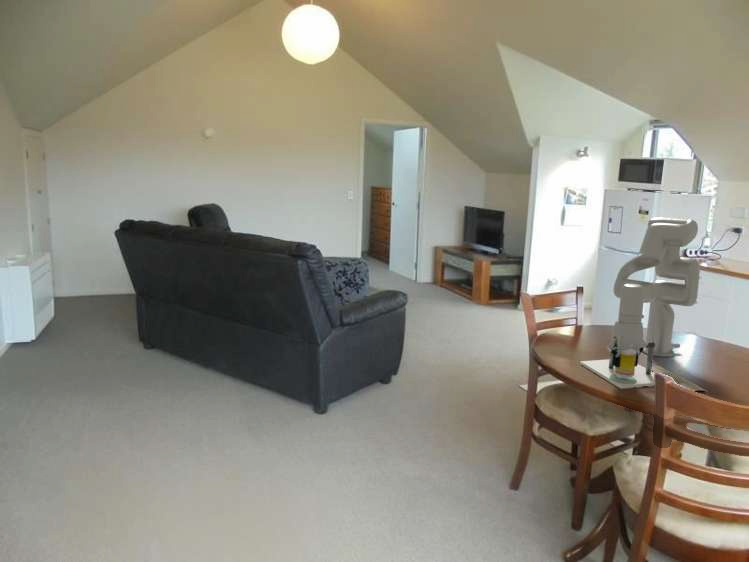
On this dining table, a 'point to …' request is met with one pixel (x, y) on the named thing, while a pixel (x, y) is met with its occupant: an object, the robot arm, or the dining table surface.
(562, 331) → the dining table surface
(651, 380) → the buzz board
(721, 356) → the dining table surface
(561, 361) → the dining table surface
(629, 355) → the supplement bottle
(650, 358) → the bent wire
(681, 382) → the newspaper
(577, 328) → the dining table surface
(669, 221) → the robot arm
